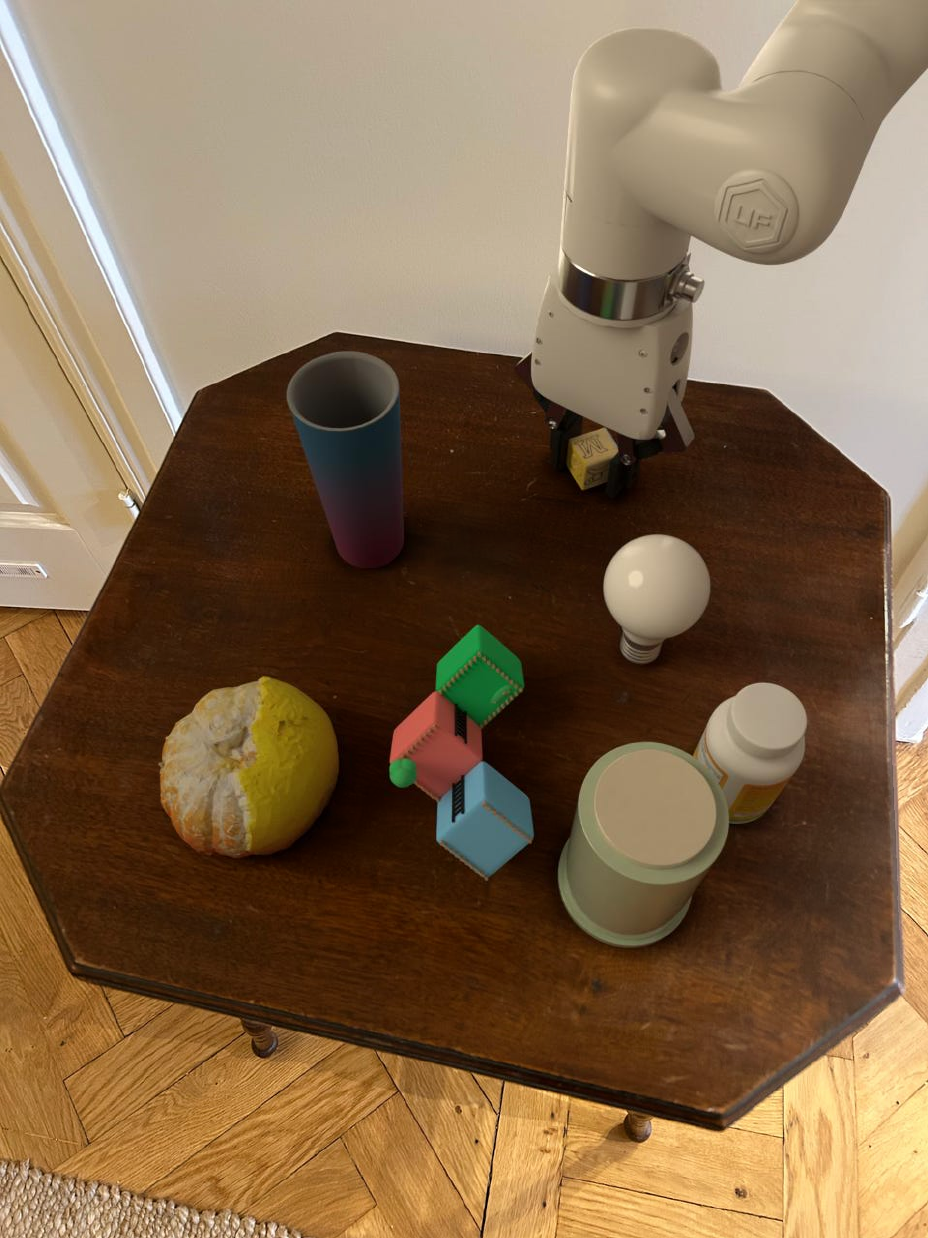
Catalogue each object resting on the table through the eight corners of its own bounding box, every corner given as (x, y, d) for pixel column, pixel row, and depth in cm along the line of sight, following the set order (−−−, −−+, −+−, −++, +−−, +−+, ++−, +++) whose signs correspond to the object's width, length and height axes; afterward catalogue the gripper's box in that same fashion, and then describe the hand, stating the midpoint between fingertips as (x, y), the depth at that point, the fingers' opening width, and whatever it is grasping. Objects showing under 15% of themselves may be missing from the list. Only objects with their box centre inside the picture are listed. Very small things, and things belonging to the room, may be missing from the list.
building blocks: (481, 771, 62) (486, 885, 51) (392, 699, 60) (377, 801, 49) (564, 696, 60) (587, 798, 49) (474, 618, 58) (478, 706, 47)
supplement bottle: (785, 769, 57) (836, 697, 49) (754, 842, 54) (801, 779, 46) (705, 730, 58) (740, 654, 50) (671, 799, 56) (702, 731, 48)
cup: (406, 584, 65) (386, 436, 52) (314, 573, 66) (273, 424, 53) (423, 510, 69) (409, 356, 56) (336, 501, 69) (302, 346, 57)
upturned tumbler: (714, 863, 54) (766, 786, 44) (649, 977, 50) (689, 922, 40) (601, 792, 56) (625, 703, 46) (531, 895, 53) (541, 824, 43)
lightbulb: (574, 635, 62) (588, 537, 53) (651, 599, 64) (679, 498, 55) (624, 708, 59) (649, 618, 50) (704, 668, 61) (743, 573, 51)
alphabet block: (618, 480, 70) (623, 453, 67) (582, 492, 69) (585, 465, 67) (600, 453, 71) (605, 425, 69) (564, 465, 71) (567, 437, 68)
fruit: (228, 673, 61) (231, 623, 54) (360, 754, 61) (381, 715, 54) (121, 814, 55) (109, 779, 48) (267, 904, 55) (276, 882, 48)
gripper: (776, 284, 54) (712, 488, 69) (537, 191, 59) (527, 399, 75) (717, 356, 50) (664, 553, 66) (471, 251, 56) (475, 455, 71)
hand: (592, 469), depth 70 cm, fingers closed on alphabet block, 4 cm apart
